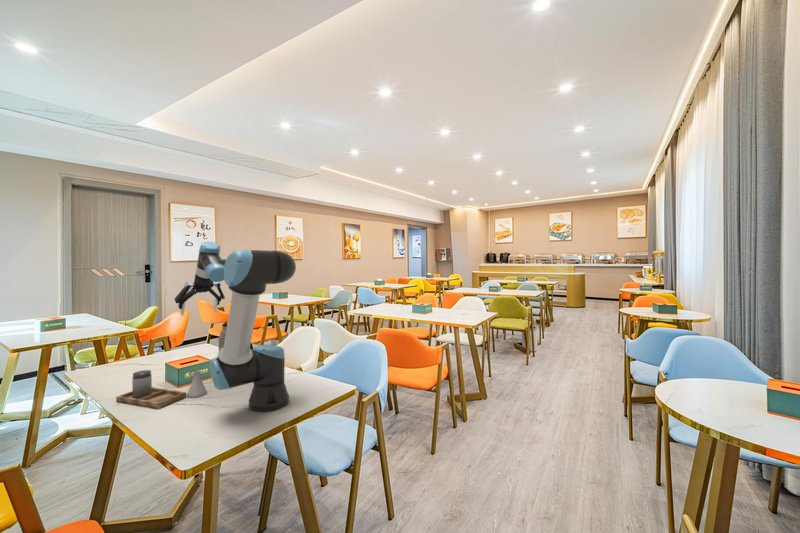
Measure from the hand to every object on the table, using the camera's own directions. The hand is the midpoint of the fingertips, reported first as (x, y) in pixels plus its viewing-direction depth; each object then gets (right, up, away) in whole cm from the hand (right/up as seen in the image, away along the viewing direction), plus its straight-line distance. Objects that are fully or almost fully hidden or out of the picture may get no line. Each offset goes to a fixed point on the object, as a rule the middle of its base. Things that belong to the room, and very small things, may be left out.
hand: (198, 311), depth 158 cm
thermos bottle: (+14, -34, 0) cm, 37 cm away
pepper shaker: (-13, -33, -18) cm, 40 cm away
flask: (+8, -34, -14) cm, 38 cm away
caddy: (-8, -34, -19) cm, 40 cm away
